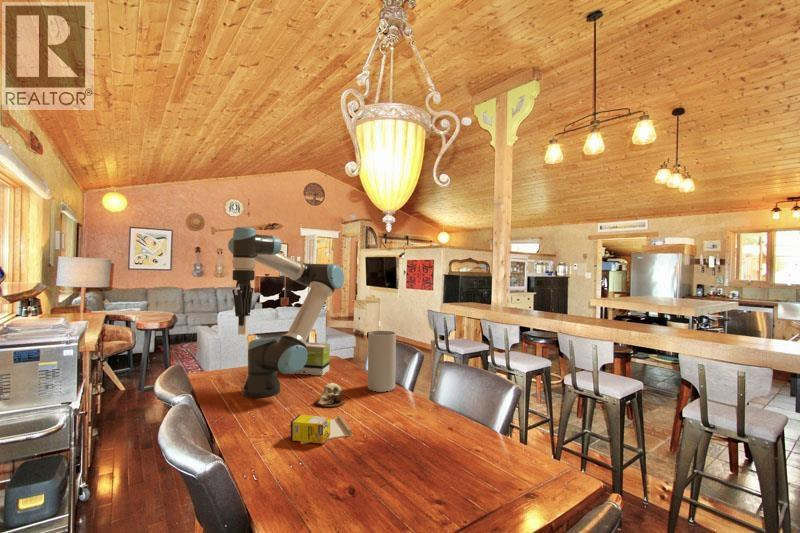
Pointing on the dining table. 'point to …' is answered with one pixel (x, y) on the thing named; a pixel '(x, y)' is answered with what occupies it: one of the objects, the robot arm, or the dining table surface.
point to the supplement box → (310, 429)
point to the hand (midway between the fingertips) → (242, 334)
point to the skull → (330, 396)
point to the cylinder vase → (381, 360)
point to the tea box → (316, 359)
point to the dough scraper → (337, 429)
